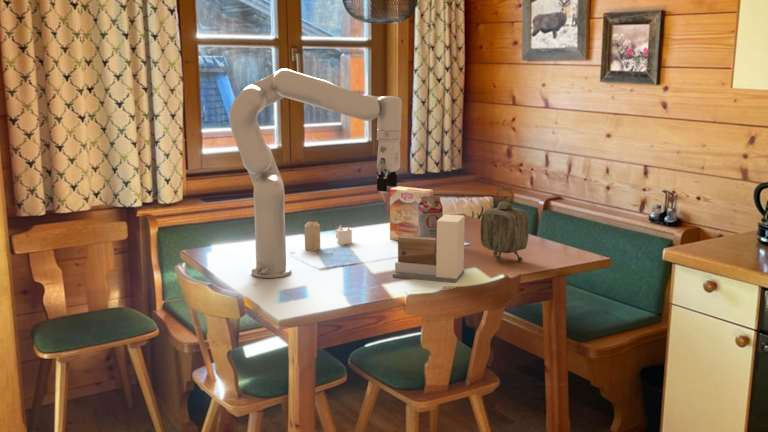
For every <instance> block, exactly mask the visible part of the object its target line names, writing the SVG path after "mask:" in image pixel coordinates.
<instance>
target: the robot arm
mask: <svg viewBox="0 0 768 432" xmlns="http://www.w3.org/2000/svg"><path fill="white" fill-rule="evenodd" d="M284 98H286V99H289V100H293V101H296V102H299V103H303V104H306V105H308V106H309V105H310V106H313V107H317V108H320V109H323V110H327V111H331V112H335V113H338V114H341V115H343V116H348V117H352V118H354V119H359V120H360V121H367V122H368V121H369V122H370V121H372V120H375V119H376V118H377V123H376V124H377V125H376V126H377V128H376V130H377V132H376V141H378V144H377V145H378V147H377V155H376V156H377V157H376V170H377V171H376V174H377V175H376V178H377V179H376V191H378V192H387V191H388V187H391V188H394V187H398V173H399V172H398V170H399V169H400V168H401V144H400V141H401V138H402V137H401V135H402V133H401V132H402V111H403V109H402V108H403V107H402V106H403V102H402V98H400V97H399V96H395V95H383V96H376V95H372V94H370V95H369V94H362V93H360V92H359V93H358V92H355V91H352V90H350V89H349V90H348V89H346V88H343V87H340V86H338V85H336V84H335V83H332V82H330V81H328V80H326V79H321V78H317V77H314V76H311V75H307V74H304V73H301V72H297V71H294V70H292V69H289V68H280V69H278V70H277V71H275V72H273V73H271V74H269V75H267V76H266V77H263V78H261V79H259V80H258V81H255V82H253V83H251V84H249V85H247V86H246V87H244V88H243V89H242V90H241V91H240V93H238V95H237V96H236V98H235V99H234V100H233V101H232V104H231V106H230V110H229V114H228V115H229V116H228V120H229V125H230V129H231V132H232V135H233V138H234V140H235V141H234V142H235V144H236V146H237V150H238V152H239V155H240V158H241V161H242V165H243V167H244V168H245V170H246V171H247V173H248V176H249V178H250V181H251V184H252V185H253V196H252V197H253V208H254V209H253V211H254V235H255V236H254V237H255V262H256V263H255V265H256V266H255V267H254V268H252V269H251V275H253V276H254V277H257V278H263V279H277V278H283V277H286V276H289V275H290V274H291V273H292V269H291V267H289V266H288V265H287V253H286V247H287V244H286V220H285V219H286V218H285V217H286V216H285V211H286V209H285V205H286V204H285V201H286V199H285V193H286V192H285V185H284V181H283V178H282V175H281V173H280V170H279V168H278V165H277V162H276V160H275V157H274V154H273V152H272V150H271V148H270V147H269V145H268V144H267V143H266V142H265V138H264V135H263V133H262V131H261V128H260V125H259V122H258V116H259V114H260V113H261V112H262V111H264V109H265V108H267V107H268V106H270V105H272V104H275V103H277V102H278V101H281V100H283V99H284Z"/></svg>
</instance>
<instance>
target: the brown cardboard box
mask: <svg viewBox="0 0 768 432" xmlns="http://www.w3.org/2000/svg"><path fill="white" fill-rule="evenodd" d="M436 257H437V238H433V237H419V236H405V235H400V236H399V237H398V240H397V262H404V263H416V264H428V265H436Z"/></svg>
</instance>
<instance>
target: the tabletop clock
mask: <svg viewBox="0 0 768 432" xmlns="http://www.w3.org/2000/svg"><path fill="white" fill-rule="evenodd" d="M501 191H507V192H509V193H510V194H511V197H510V198H507V196H505V195H504V196H503V197H501V196H499V192H501ZM496 196H497V198H498V199H500V200H501V201H500V202H499V203H498V204H497V207H494V208H489V209H485V210H483V213H482V215H481V220H480V243H481V245H482V246H483V247H484V248H485V249H488V250H490V251H493V252H492V254H493V256H495V257H496V256H498V257H496V261H497V262H501V261H502V257H501V255H502V253H503V254H511V253H514V254H515V256H516V257H517V261H518V262H522V261H523V257H522V256H520V255H519V254H518V251H521V250H526V248H527V245H528V240H529V232H530V231H529V230H530V229H529V228H530V227H529V216H528V213H527V212H526V211H524V210H523V209H521V208H517V207H513V206H512V203H511V202H510V201H512V200H513V198H514V192H513V191H512V190H511V189H509V188H506V187H501V188H499V189H497V191H496Z"/></svg>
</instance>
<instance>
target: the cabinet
mask: <svg viewBox="0 0 768 432" xmlns="http://www.w3.org/2000/svg"><path fill="white" fill-rule="evenodd" d="M465 219H466V216H465V215H458V214H457V215H456V214H447V213H445V214H443V216H442V217H441V218H440V219H439V220H437V257H436V265H428V264H416V263H404V262H398V261H396V262H394V272H393V273H392V278H400V279H412V280H421V281H422V280H423V281H433V282H442V283H443V282H444V283H454V284H455V283H457V282H458V281H459V280H460V278H461V277H462V276H463V274H464V273H465V268H464V267H465V228H466V227H465Z"/></svg>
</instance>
